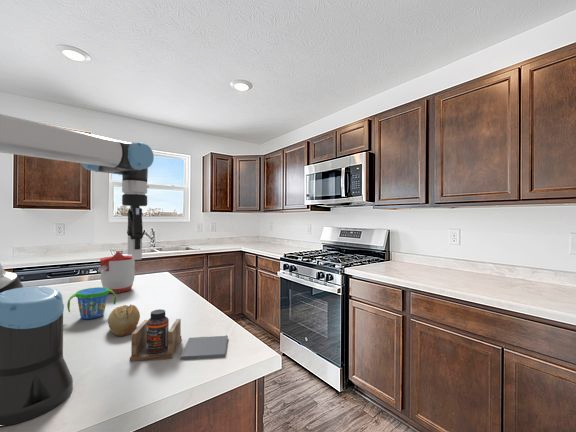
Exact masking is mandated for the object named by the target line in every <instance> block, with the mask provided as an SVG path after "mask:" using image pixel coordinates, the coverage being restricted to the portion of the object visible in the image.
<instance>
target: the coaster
mask: <svg viewBox="0 0 576 432" xmlns="http://www.w3.org/2000/svg"><path fill="white" fill-rule="evenodd" d="M227 344H228V335H219V336H197V337H196V336H194V337H188V339H187V341H186V344H185V346H184V349H183V350H182V352H181V354H180V358H179V359H180V360H192V359H193V360H195V359H210V358H212V359H213V358H225V356H226V350H227Z"/></svg>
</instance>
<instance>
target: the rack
mask: <svg viewBox="0 0 576 432" xmlns="http://www.w3.org/2000/svg"><path fill="white" fill-rule="evenodd" d="M181 319H182V318H176V319H175V320H174V322H173V324H172V325H171V327H170V329H169V331H168V348H167V353H149V354H141V353H142V351H143V350H144V349H145V348H146V345H147V321H148V320H149V319H148V320H147V319H144V320H143V321H142V322H141V323H140V324H139V325H137V326H138V327H136V328H135V329H134V330H133V331H132V332H131V333H130V334H131V338H130V339H131V343H130V345H131V351H130V352H131V354H130V356H129V362H139V361H140V362H141V361H155V360H158V361H159V360H170V359H171V360H172V358H173V356H174V354H175V352H176V351H177V348H178V346H179V344H180V343H181V341H182V335H181V332H182V331H181V330H182V329H181V328H182V327H181V325H182V324H181V322H182V321H181Z"/></svg>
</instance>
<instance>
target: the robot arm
mask: <svg viewBox="0 0 576 432" xmlns="http://www.w3.org/2000/svg"><path fill="white" fill-rule="evenodd" d="M0 153H3V154H8V155H9V154H11V155H17V156H19V155H20V156H23V157H31V158H38V159H39V158H41V159H48V160H55V161H62V162H63V161H64V162H71V163H78V164H81V166H82V168H84V169H85V170H87V171H93V172H95V173H104V174H105V173H107V174H112V175H113V174H114V175H119V176H120V175H121V176H122V177H121V178H122V179H121V192H122V193H123V194H122V195H121V197H122V199H121V204H122V206H127V207H129V208H128V209H127V229H126V230H127V231H126V233H127V256H132V260H135V261H138V260H139V261H140V260H142V259H143V257H142V256H143V237H144V231H143V230H144V229H143V209H142V208H141V207H147V206H148V195H147V194H148V189H149V188H150V185H148V178H149V177H148V174H149V172H148V171H149V168H150V167H151V166H152V165H153V163H154V161H155V160H154V159H155V158H154V151H153V149H152V147H150V145H148V144H147V143H145V142H142V141H139V142H137V141H132V142H127V141H122V140H117V139H114V138H109V137H105V136H100V135H96V134H91V133H86V132H83V131H77V130H72V129H69V128H64V127H59V126H55V125H51V124H46V123H42V122H37V121H34V120H28V119H25V118H21V117H16V116H13V115H8V114H7V115H6V114H2V113H0ZM64 309H65V304H64V301H63V295H62V293H61V292H60V291H59V290H58V289H55V288H52V287H48V286H41V287H40V286H24V285H23V284H22V281H21V280H20V278H19V276H18V274H17V273H15V272H11V271H6V270H5V268H3V265H2V264H1V263H0V425H8V426H12V425H15V424H19V423H23V422H26V421H29V420H31V419H34V418H36V417H39V416H41V415H43V414H45V413H48V412H49V411H51V410H52V409H54V408H56V407H58V406H59V405H60V404H61V403H63V402H64V401H65V400H67V399H68V398H69V397H70V395H71V394H72V392H73V389H74V388H73V387H74V386H73V383H74V381H73V380H74V379H73V375H72V374H71V372H70V369H69V368H68V365H67V362H66V360H65V358H64Z"/></svg>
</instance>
